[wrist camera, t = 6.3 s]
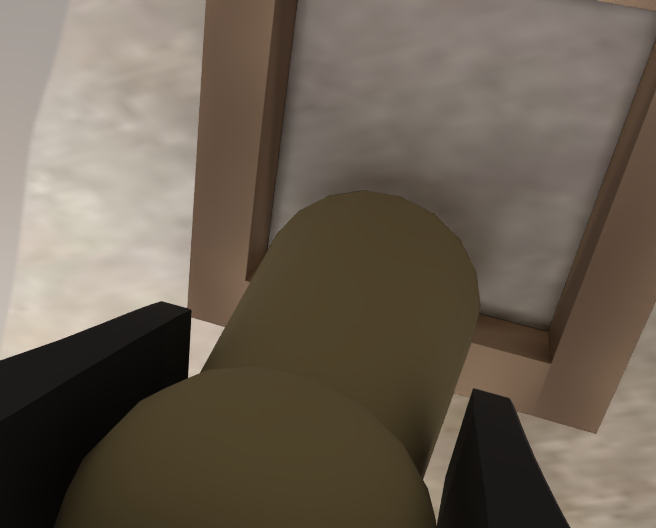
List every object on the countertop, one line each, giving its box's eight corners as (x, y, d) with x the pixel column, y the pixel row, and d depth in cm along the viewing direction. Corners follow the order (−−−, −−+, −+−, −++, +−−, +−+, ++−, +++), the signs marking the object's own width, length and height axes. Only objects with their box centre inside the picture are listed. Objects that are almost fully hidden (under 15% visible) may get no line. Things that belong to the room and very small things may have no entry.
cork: (441, 160, 15) (361, 393, 5) (507, 374, 17) (543, 877, 7) (229, 227, 17) (-131, 492, 7) (304, 413, 19) (95, 850, 9)
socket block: (784, -61, 15) (820, -67, 13) (589, 396, 21) (596, 434, 19) (245, -141, 17) (215, -156, 16) (211, 291, 24) (187, 316, 22)
